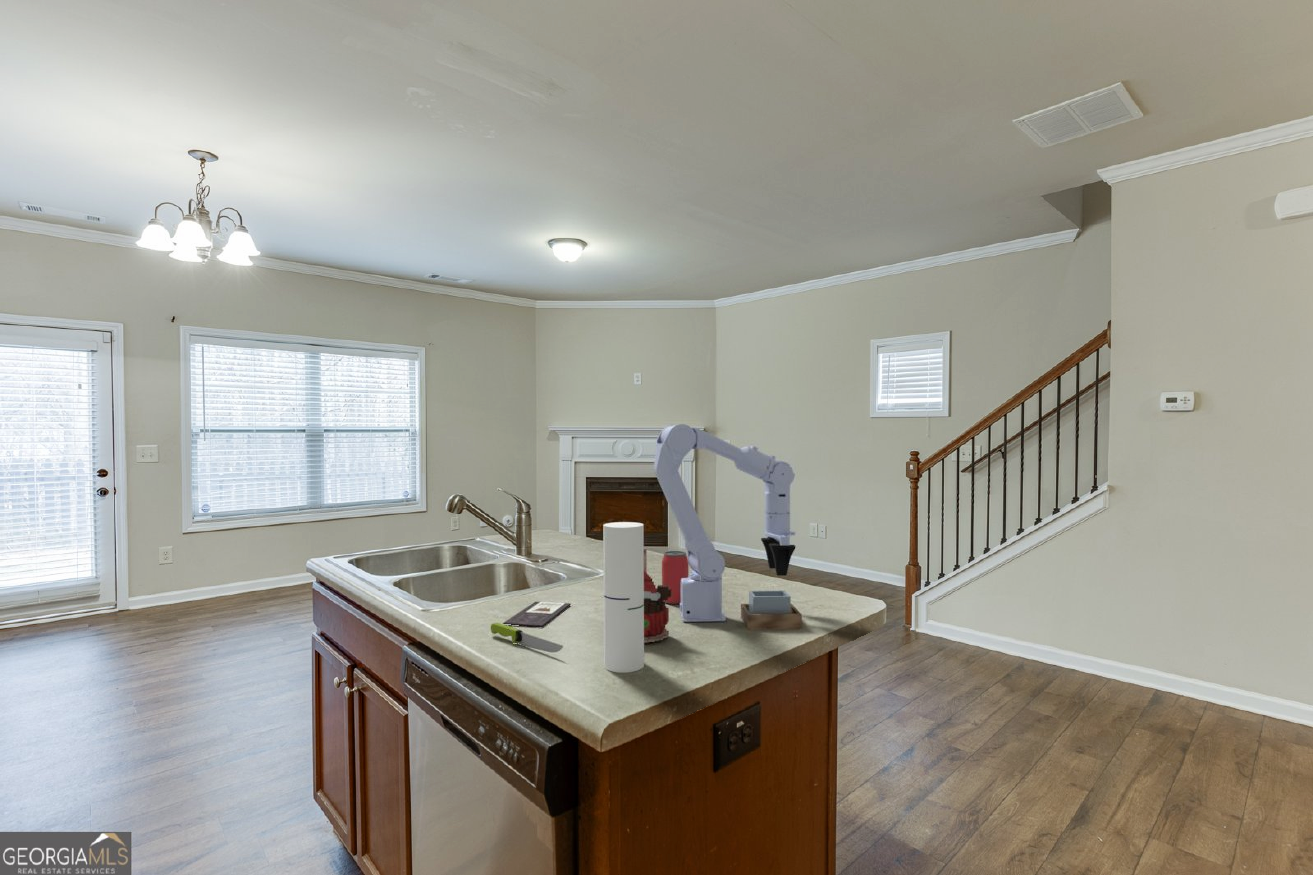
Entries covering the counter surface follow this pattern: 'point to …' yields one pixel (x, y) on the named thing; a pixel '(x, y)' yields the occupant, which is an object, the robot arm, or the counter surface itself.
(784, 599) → the grey crate
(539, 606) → the chocolate bar
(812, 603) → the counter surface
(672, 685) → the counter surface
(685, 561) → the beer can
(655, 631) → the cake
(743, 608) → the walnut crate
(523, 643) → the kitchen knife
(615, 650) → the cylindrical container
